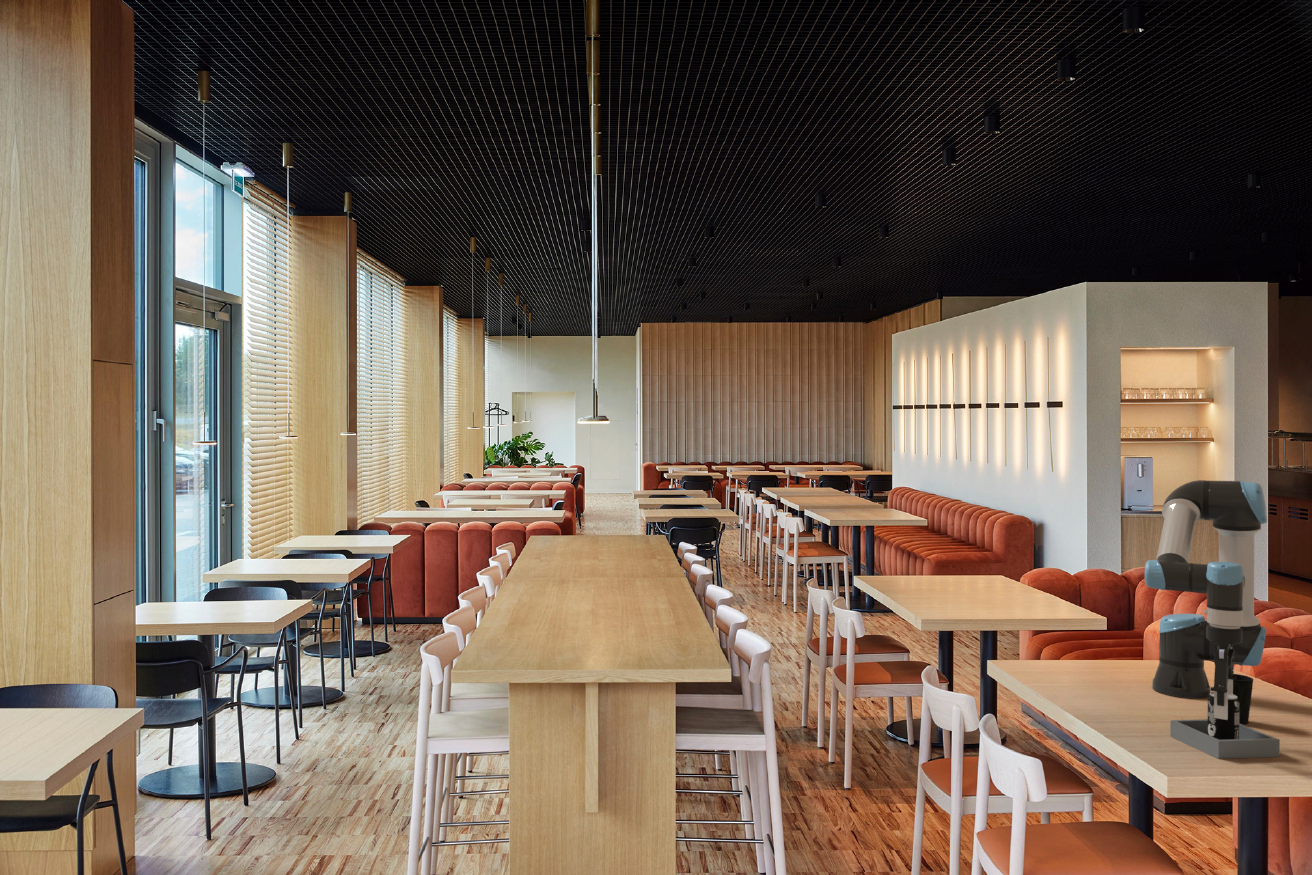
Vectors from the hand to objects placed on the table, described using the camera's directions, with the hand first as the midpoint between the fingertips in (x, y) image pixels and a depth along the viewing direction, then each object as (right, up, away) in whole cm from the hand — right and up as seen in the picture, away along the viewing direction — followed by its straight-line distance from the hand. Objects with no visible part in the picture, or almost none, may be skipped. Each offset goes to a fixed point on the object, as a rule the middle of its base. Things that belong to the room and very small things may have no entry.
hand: (1223, 711), depth 217 cm
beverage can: (0, -8, -1) cm, 8 cm away
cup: (+16, -9, +20) cm, 27 cm away
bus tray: (0, -8, 0) cm, 8 cm away
